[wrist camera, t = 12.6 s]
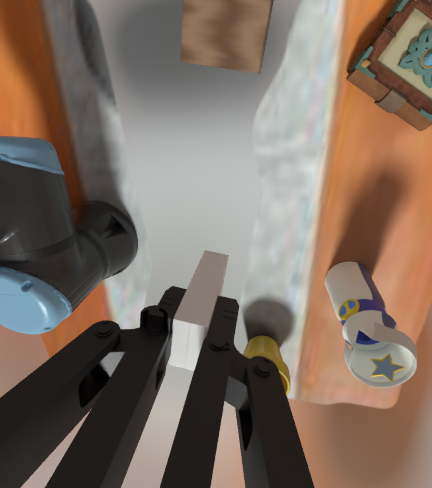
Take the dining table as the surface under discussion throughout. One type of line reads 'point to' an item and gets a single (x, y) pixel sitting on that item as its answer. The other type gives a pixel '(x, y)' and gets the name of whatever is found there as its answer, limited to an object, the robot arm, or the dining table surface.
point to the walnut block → (225, 33)
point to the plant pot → (269, 356)
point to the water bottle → (369, 328)
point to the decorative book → (400, 64)
